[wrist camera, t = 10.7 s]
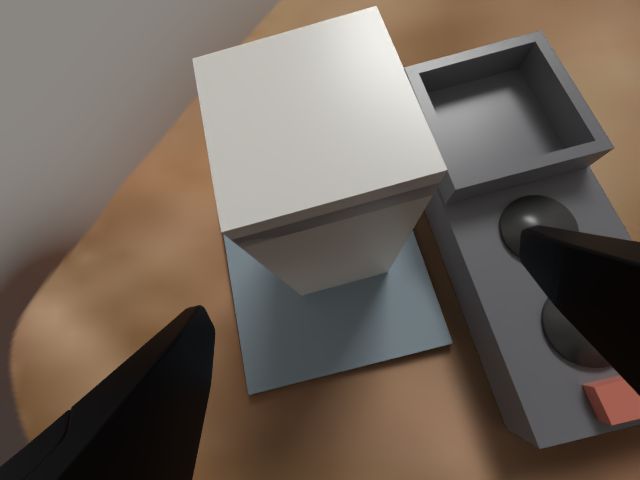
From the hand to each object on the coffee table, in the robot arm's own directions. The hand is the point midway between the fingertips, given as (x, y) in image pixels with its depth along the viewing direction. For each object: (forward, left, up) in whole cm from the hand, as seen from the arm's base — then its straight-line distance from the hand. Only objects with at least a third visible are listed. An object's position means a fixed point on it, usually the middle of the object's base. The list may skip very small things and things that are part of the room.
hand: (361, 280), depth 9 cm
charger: (+3, 0, -7) cm, 7 cm away
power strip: (0, -8, -7) cm, 11 cm away
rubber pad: (+2, +1, -7) cm, 7 cm away
